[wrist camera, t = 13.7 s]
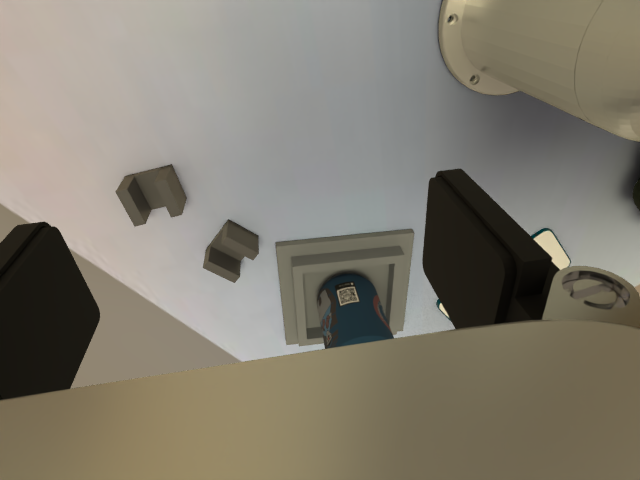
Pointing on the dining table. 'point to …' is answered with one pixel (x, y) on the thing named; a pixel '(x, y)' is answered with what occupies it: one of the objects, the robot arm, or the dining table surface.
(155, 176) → the clip
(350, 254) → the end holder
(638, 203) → the squash
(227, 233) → the clip
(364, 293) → the soda can
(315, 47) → the dining table surface
